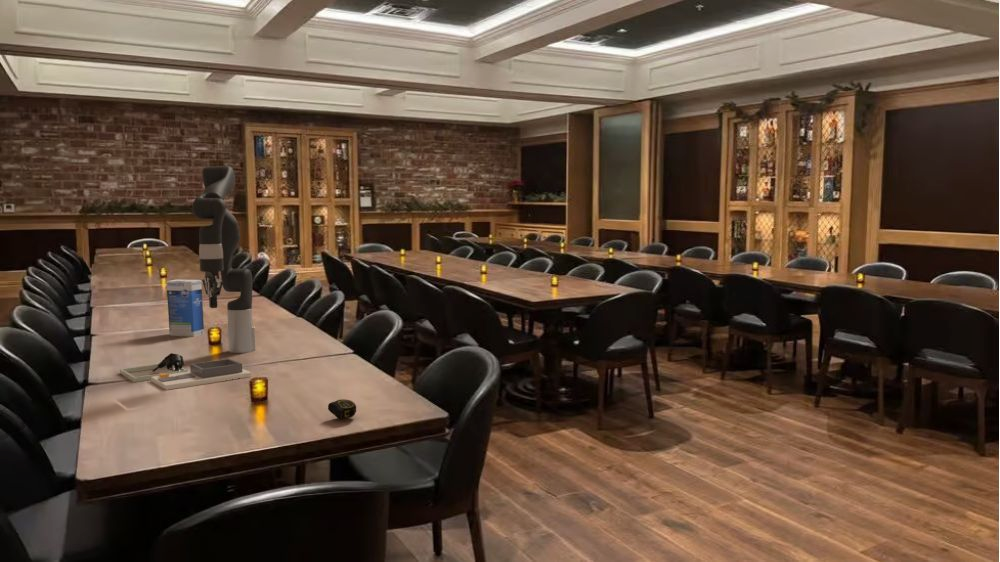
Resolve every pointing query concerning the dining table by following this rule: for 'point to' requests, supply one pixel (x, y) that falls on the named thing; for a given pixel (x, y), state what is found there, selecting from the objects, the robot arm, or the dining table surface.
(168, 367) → the power plug
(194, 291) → the string lights box
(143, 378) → the pick tray
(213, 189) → the robot arm
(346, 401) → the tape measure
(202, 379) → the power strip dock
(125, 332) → the dining table surface
